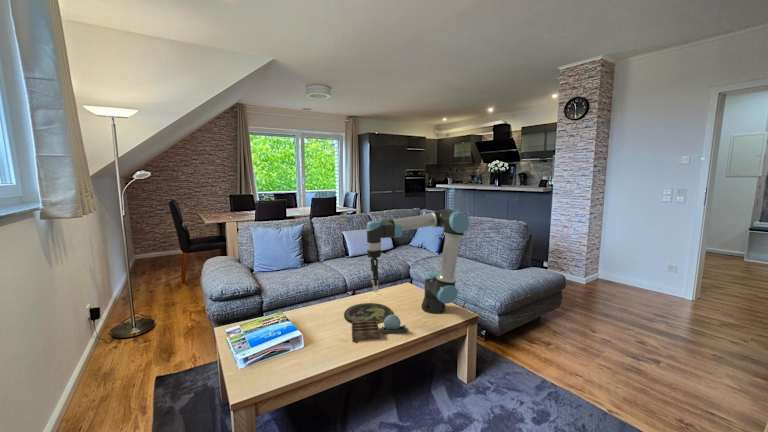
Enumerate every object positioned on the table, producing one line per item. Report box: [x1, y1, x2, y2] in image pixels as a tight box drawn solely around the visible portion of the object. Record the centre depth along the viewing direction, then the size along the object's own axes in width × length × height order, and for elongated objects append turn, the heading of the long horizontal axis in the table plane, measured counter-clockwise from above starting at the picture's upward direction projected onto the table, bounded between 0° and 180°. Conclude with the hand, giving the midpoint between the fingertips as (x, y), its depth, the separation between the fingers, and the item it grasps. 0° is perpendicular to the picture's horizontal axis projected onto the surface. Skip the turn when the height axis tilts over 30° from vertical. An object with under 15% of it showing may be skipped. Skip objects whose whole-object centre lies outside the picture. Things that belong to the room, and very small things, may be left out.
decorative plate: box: [343, 302, 394, 324], centre depth 199 cm, size 30×2×30 cm
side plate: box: [383, 314, 402, 330], centre depth 176 cm, size 9×2×9 cm, turn 97°
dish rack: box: [351, 321, 380, 343], centre depth 173 cm, size 14×12×5 cm
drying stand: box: [381, 324, 408, 335], centre depth 177 cm, size 13×6×2 cm, turn 98°
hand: (374, 286), depth 179 cm, fingers open, 13 cm apart
